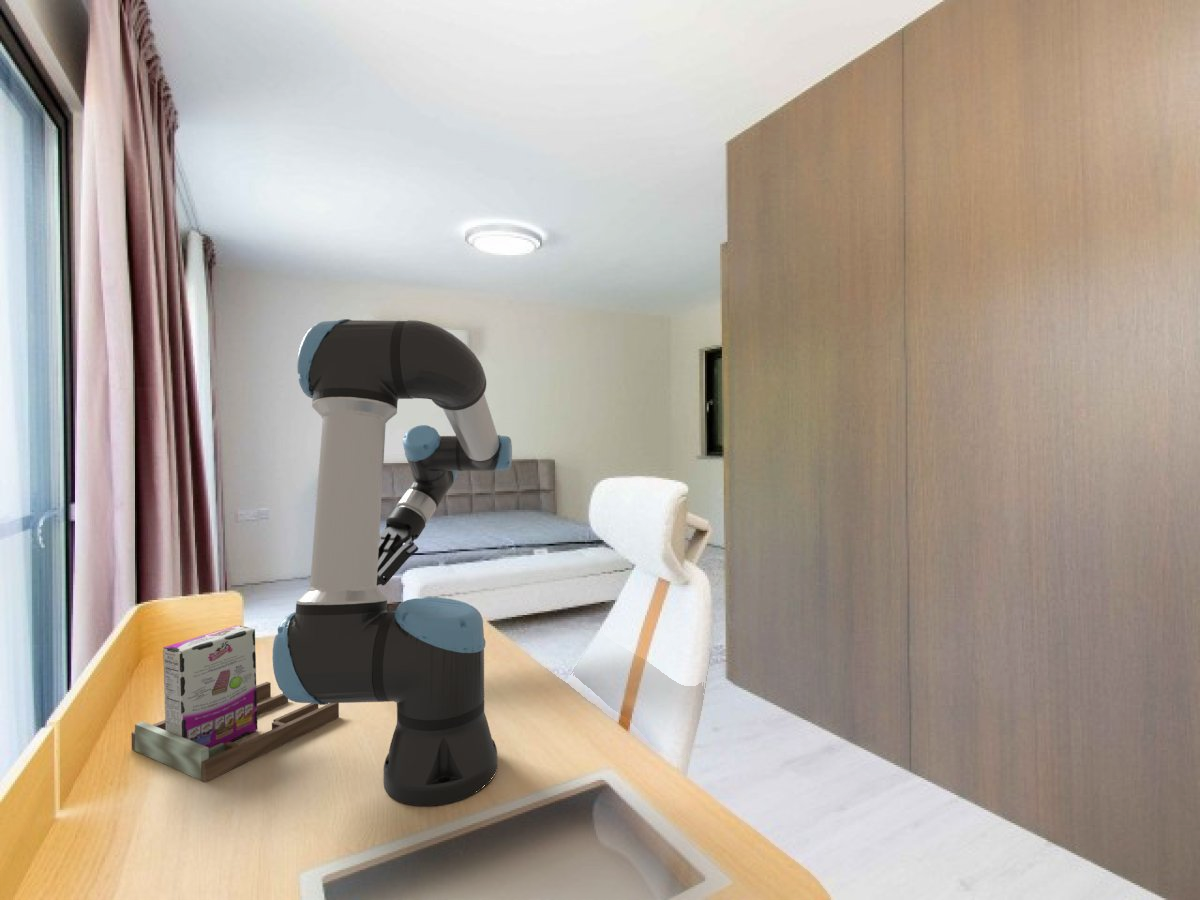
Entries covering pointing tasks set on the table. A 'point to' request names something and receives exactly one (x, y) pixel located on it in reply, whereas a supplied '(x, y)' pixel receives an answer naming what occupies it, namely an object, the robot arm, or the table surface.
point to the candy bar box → (211, 686)
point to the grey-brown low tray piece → (230, 755)
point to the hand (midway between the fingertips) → (346, 612)
